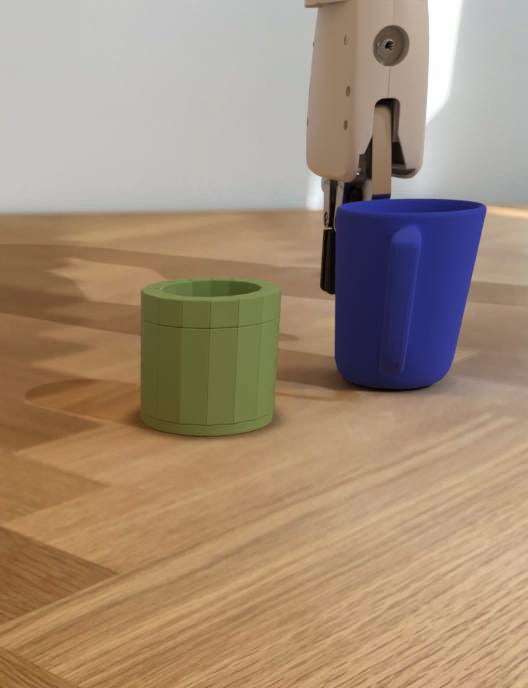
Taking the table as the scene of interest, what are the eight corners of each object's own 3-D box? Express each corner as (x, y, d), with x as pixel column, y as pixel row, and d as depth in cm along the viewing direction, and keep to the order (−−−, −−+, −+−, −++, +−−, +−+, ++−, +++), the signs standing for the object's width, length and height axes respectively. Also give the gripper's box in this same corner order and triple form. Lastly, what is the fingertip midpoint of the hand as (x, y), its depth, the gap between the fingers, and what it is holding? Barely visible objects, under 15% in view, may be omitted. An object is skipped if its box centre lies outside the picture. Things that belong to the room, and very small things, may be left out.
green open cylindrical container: (255, 397, 62) (262, 274, 59) (287, 432, 56) (296, 296, 52) (133, 403, 62) (133, 280, 59) (151, 439, 55) (152, 303, 52)
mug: (310, 411, 59) (325, 222, 54) (327, 362, 69) (341, 199, 65) (464, 418, 57) (494, 221, 52) (459, 366, 67) (484, 197, 62)
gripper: (484, -44, 56) (443, 307, 65) (388, -17, 70) (364, 271, 78) (346, -35, 56) (323, 315, 65) (276, -11, 69) (265, 278, 78)
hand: (346, 290), depth 71 cm, fingers closed
